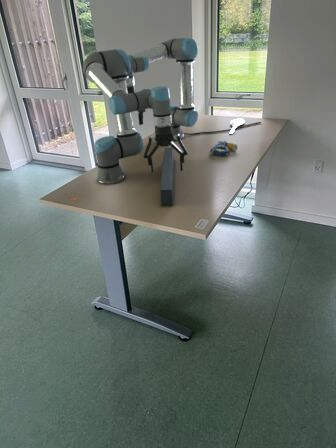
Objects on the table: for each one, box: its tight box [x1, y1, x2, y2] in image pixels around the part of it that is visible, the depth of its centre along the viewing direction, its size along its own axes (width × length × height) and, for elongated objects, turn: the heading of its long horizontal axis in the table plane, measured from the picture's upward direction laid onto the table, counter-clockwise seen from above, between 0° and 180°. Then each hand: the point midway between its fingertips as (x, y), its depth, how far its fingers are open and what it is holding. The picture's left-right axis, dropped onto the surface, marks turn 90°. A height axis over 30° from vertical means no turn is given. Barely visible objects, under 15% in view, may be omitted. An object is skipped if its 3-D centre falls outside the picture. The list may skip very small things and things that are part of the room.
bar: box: [159, 146, 175, 207], centre depth 181 cm, size 60×5×8 cm, turn 179°
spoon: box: [228, 118, 245, 135], centre depth 259 cm, size 35×11×2 cm, turn 159°
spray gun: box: [209, 140, 238, 157], centre depth 214 cm, size 21×4×15 cm
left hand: (167, 170), depth 156 cm, fingers open, 13 cm apart
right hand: (132, 123), depth 201 cm, fingers open, 13 cm apart
